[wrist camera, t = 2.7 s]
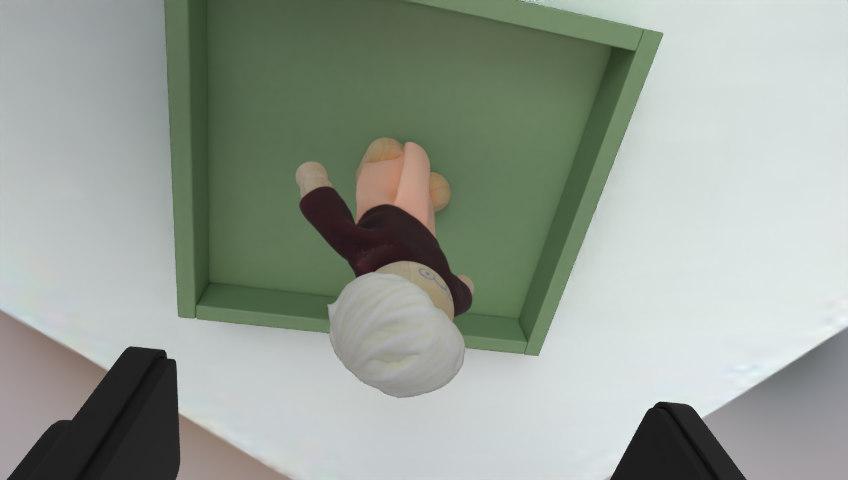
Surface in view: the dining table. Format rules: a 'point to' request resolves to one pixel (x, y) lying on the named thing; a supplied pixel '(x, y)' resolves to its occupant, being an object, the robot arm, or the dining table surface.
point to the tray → (403, 121)
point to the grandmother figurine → (391, 270)
